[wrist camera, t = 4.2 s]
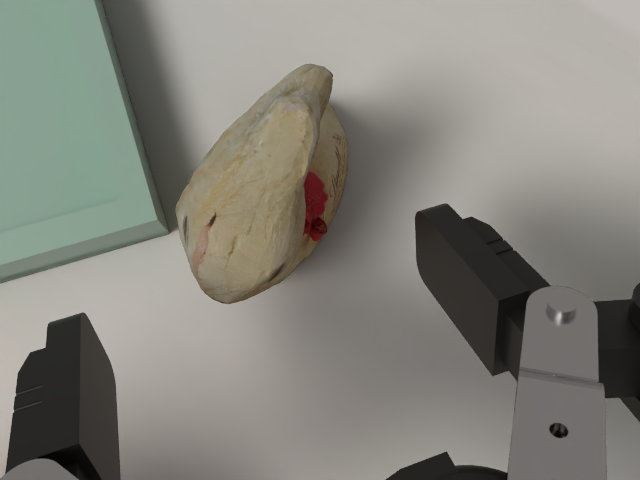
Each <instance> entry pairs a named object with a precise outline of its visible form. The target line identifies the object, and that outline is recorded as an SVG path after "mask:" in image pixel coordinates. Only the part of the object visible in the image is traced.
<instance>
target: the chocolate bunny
mask: <svg viewBox="0 0 640 480" xmlns="http://www.w3.org/2000/svg"><path fill="white" fill-rule="evenodd" d="M332 77H333V74H332V73H331V72H330V71H329V70H328V69H326V68H325V67H322V66H318V65H314V64H305V65H303V66H301V67H299V68H297V69H296V70H294V71H292V72H291V73H289V74H288V75H287V76H285V77H284V78H283V79H282V80H281V81H280V82H279V83H278V84H277V85H276V86H274V87H273V88H272V89H270V90H269V91H268V92H267V93H265V94H264V95H263V96H262V97H261V98H260V99H259V100H258V101H257V102H256V103H255V104H254V105H253V106H252V107H251V108H250V109H249V110H248V111H247V112H246V113H245V114H243V115H242V116H241V117H240V118H239V119H238V120H236V121H235V122H234V123H233V124H232V125H231V126H230V127H229V128H228V129H227V130H226V131H224V133H223V134H222V136H221V137H220V139H219V140H218V141H217V142H216V143H215V144H214V146H213V147H212V149H211V150H210V151H209V152H208V154H207V155H206V157H205V158H204V159H203V161H202V162H201V163H200V165H199V166H198V167H197V169H196V170H195V171H192V172H194V173H193V176H192V178H191V180H190V181H188V182H189V184H188V185H187V186H186V188H185V189H184V190H183V192H182V195H181V197H180V199H179V201H178V203H177V204H176V209H175V212H176V216H177V221H178V226H179V232H180V238H181V241H182V244H183V246H184V249H185V252H186V255H187V257H188V261H189V264H190V267H191V270H192V273H193V275H194V276H195V278H196V280H197V282H198V284H199V286H200V288H201V289H202V290H203V291H204V293H205V294H206V295H208V296H209V297H211V298H212V299H213V300H216V301H218V302H221V303H226V304H231V303H235V302H239V301H243V300H246V299H248V298H250V297H252V296H255V295H257V294H259V293H261V292H263V291H265V290H267V289H269V288H270V287H271V286H273V285H276V284H278V283H280V282H281V281H282V280H283V279H285V278H286V277H287V276H288V275H290V274H291V273H292V272H293V270H294V269H295V268H296V267H297V265H298V264H299V263H301V262H302V261H303V260H305V259H306V258H307V257H308V256H309V255H310V254H311V253H312V251H313V250H314V249H315V248H316V246H317V245H318V243H319V241H320V239H321V237H322V236H323V235H324V234H325V233H326V232H327V227H328V225H329V224H330V222H331V221H332V219H333V217H334V215H335V213H336V210H337V208H338V206H339V203H340V200H341V197H342V193H343V189H344V185H345V181H346V176H347V169H348V145H347V140H346V136H345V133H344V130H343V128H342V126H341V124H340V122H339V120H338V118H337V116H336V114H335V112H334V110H333V109H332V107H331V106H330V105H329V104H328V101H329V98H330V94H331V91H332V82H333V79H332Z"/></svg>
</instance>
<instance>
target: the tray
mask: <svg viewBox="0 0 640 480" xmlns="http://www.w3.org/2000/svg"><path fill="white" fill-rule="evenodd" d="M167 234H169V231H168V227H167V224H166V220H165V217H164V213H163V210H162V207H161V203H160V200H159V196H158V193H157V189H156V186H155V183H154V179H153V176H152V172H151V169H150V165H149V162H148V159H147V155H146V152H145V148H144V145H143V141H142V138H141V135H140V131H139V128H138V124H137V121H136V117H135V114H134V110H133V107H132V104H131V100H130V97H129V93H128V90H127V86H126V83H125V80H124V76H123V73H122V69H121V66H120V62H119V59H118V56H117V52H116V49H115V45H114V42H113V38H112V35H111V31H110V28H109V25H108V21H107V18H106V14H105V11H104V7H103V4H102V1H101V0H0V283H3V282H6V281H10V280H13V279H16V278H20V277H23V276H27V275H30V274H34V273H37V272H40V271H44V270H47V269H51V268H54V267H57V266H61V265H64V264H68V263H71V262H74V261H78V260H81V259H85V258H88V257H92V256H95V255H98V254H102V253H105V252H109V251H112V250H115V249H119V248H122V247H126V246H129V245H132V244H136V243H139V242H143V241H146V240H150V239H153V238H156V237H160V236H163V235H167Z"/></svg>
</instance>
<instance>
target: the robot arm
mask: <svg viewBox="0 0 640 480" xmlns="http://www.w3.org/2000/svg"><path fill="white" fill-rule="evenodd" d="M415 230H416V258H417V266H418V270H419V273H420V275H421V278H422V280H423V282H424V283H425V285H426V286H427V288H428V289H429V290H430V292H431V293H432V294H433V296H434V297H435V298H436V300H437V301H438V303H439V304H440V305H441V307H442V308H443V309H444V311H445V312H446V313H447V315H448V316H449V318H450V319H451V320H452V322H453V323H454V324H455V326H456V327H457V328H458V330H459V331H460V332H461V334H462V335H463V337H464V338H465V339H466V341H467V342H468V343H469V345H470V346H471V347H472V349H473V350H474V351H475V353H476V354H477V356H478V357H479V358H480V360H481V361H482V362H483V364H484V365H485V366H486V368H487V369H488V370H489V372H490V373H491V375H492V376H495V375H497V374H500V373H503V372H506V371H510V373H511V374H512V375H513V377H514V378H515V379H516V381H517V391H516V400H515V409H514V418H513V427H512V436H511V445H510V454H509V463H508V472H507V473H505V472H503V471H500V470H496V469H492V468H488V467H482V466H474V465H459V466H455V465H454V464H453V462H452V460H451V458H450V457H449V455H448V453H447V452H444V453H442V454H439V455H436V456H434V457H431V458H428V459H426V460H423V461H420V462H418V463H415V464H413V465H410V466H407V467H405V468H402V469H400V470H399V471H397V472H396V473H394V474H393V475H391V476H390V477H389V478H387V479H386V480H607V466H606V427H605V398H618V397H619V398H620V399H621V400H622V401H623V403H624V404H625V405H626V406H627V407H628V409H629V410H630V411H631V412H632V413H633V415H634V416H635V417H636V418H637V419H638V421H639V422H640V283H639V284H638V285H637V286H636V287H635V289H634V292H633V296H632V299H630V300H614V301H599V302H593V301H592V300H591V299H590V298H589V297H587V296H586V295H585V294H583V293H581V292H579V291H577V290H575V289H571V288H568V287H562V286H550V285H549V284H548V283H547V282H546V281H545V280H544V279H543V278H542V277H541V276H540V275H539V274H538V273H537V272H536V271H535V270H534V269H533V268H532V267H531V266H530V265H529V264H528V263H527V262H526V261H525V260H524V259H523V258H522V257H521V256H520V255H519V254H518V253H517V252H516V251H513V248H512V247H511V246H510V245H509V244H508V243H507V242H506V241H505V240H504V241H503V239H502V237H501V236H500V235H499V234H498V233H497V232H496V231H495V230H494V229H493V228H492V227H491V226H490V225H488V224H486V223H484V222H482V221H479V220H477V219H475V218H473V217H469V218H465V219H462V218H461V217H460V216H459V215H458V214H457V213H456V212H455V211H454V210H453V209H452V208H451V207H450V206H449V205H448V204H441V205H438V206H435V207H431V208H428V209H425V210H421V211H418V212H417V213H416V216H415ZM0 480H121V479H120V459H119V440H118V421H117V401H116V383H115V377H114V373H113V369H112V366H111V363H110V360H109V358H108V356H107V354H106V352H105V350H104V348H103V346H102V344H101V342H100V340H99V338H98V336H97V334H96V332H95V330H94V328H93V326H92V324H91V322H90V320H89V319H88V317H87V315H86V314H85V313H80V314H77V315H73V316H70V317H67V318H63V319H60V320H56V321H53V322H50V323H49V324H48V327H47V339H46V348H43V349H40V350H37V351H34V352H30V354H29V355H28V357H27V359H26V360H25V362H24V364H23V366H22V367H21V369H20V371H19V372H18V378H17V386H16V397H15V401H14V413H13V417H12V425H11V433H10V441H9V449H8V457H7V465H6V472H5V475H4V476H3V477H2V478H1V479H0Z"/></svg>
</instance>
